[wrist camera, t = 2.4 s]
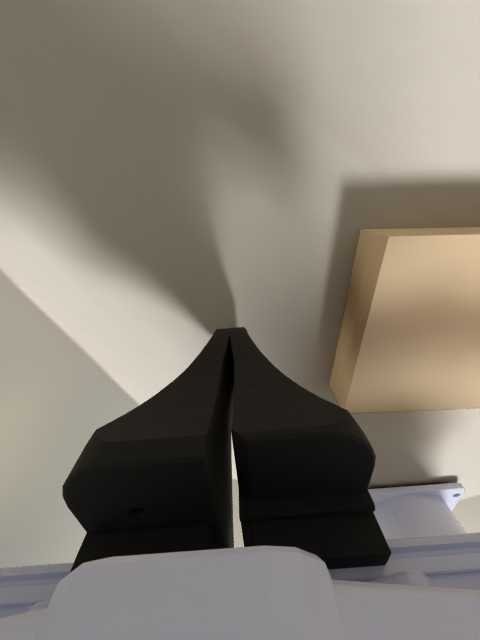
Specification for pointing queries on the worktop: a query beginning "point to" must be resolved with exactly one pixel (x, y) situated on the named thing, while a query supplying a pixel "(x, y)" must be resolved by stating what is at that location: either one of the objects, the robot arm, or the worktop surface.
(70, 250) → the worktop surface
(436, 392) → the board
